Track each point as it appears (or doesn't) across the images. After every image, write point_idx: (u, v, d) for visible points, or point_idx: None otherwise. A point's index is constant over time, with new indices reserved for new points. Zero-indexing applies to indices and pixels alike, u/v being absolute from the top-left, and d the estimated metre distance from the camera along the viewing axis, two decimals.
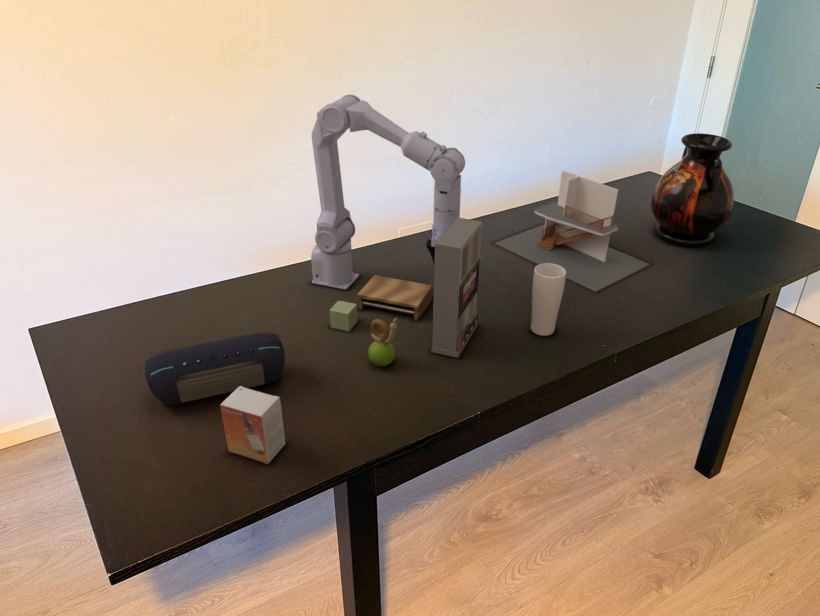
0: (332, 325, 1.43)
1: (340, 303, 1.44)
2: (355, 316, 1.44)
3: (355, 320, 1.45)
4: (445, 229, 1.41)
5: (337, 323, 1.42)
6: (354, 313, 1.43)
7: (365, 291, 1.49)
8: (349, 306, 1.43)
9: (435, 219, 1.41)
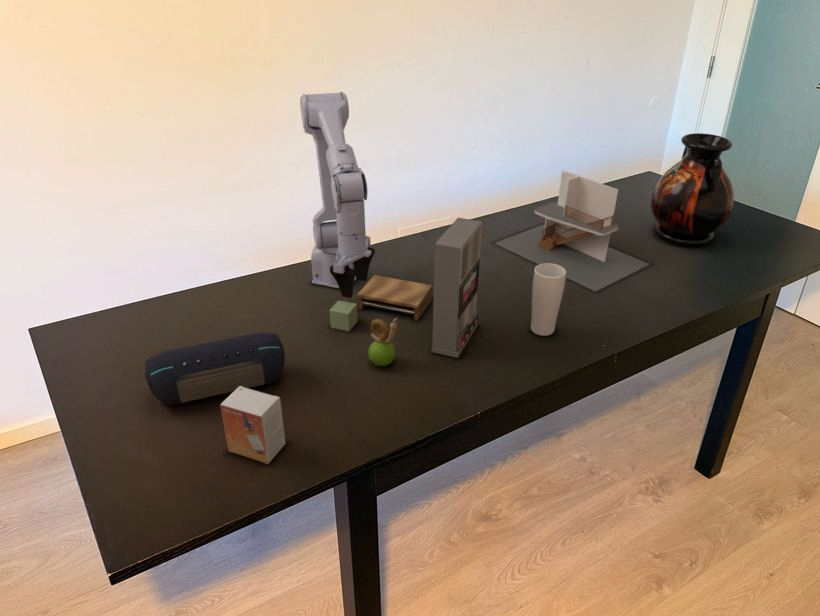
0: (332, 325, 1.43)
1: (340, 303, 1.44)
2: (355, 316, 1.44)
3: (355, 320, 1.45)
4: (350, 253, 1.34)
5: (337, 323, 1.42)
6: (354, 313, 1.43)
7: (365, 291, 1.49)
8: (349, 306, 1.43)
9: (339, 243, 1.34)
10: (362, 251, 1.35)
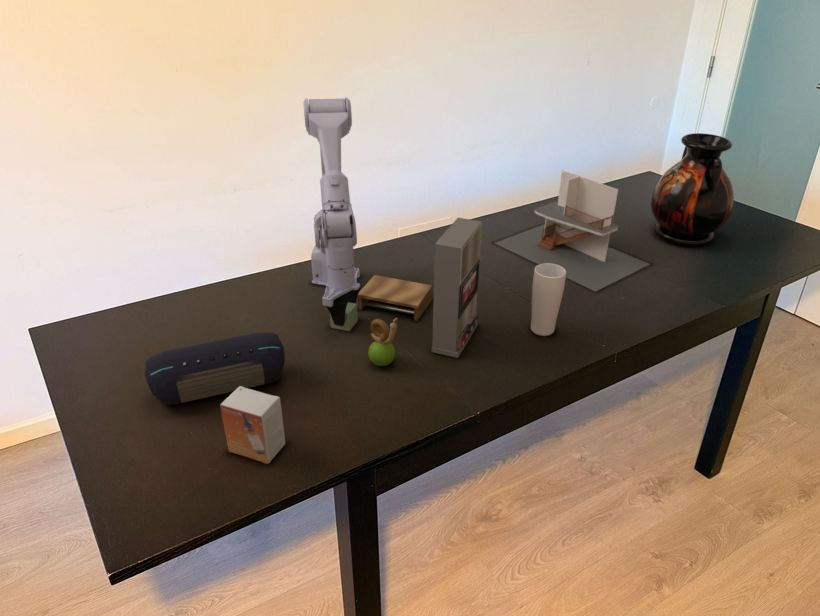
0: (332, 324, 1.43)
1: None
2: (355, 316, 1.44)
3: (355, 320, 1.45)
4: (339, 287, 1.37)
5: None
6: (354, 313, 1.43)
7: (365, 291, 1.49)
8: (349, 306, 1.43)
9: (328, 276, 1.37)
10: (351, 284, 1.37)
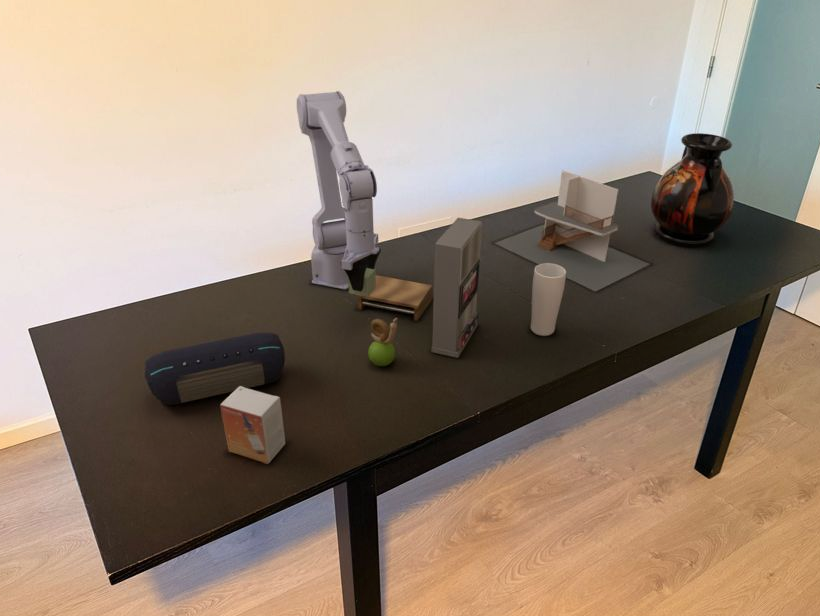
0: (350, 290, 1.42)
1: None
2: (374, 282, 1.43)
3: (373, 286, 1.44)
4: (358, 250, 1.35)
5: None
6: (372, 279, 1.42)
7: None
8: (368, 271, 1.42)
9: (347, 240, 1.35)
10: (370, 248, 1.36)
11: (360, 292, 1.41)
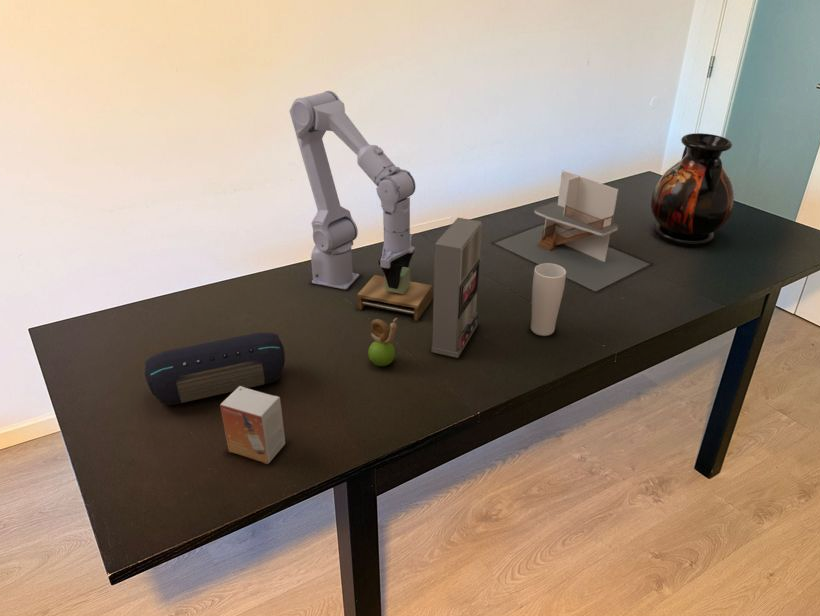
0: (386, 288, 1.48)
1: None
2: (408, 280, 1.49)
3: (408, 284, 1.50)
4: (395, 249, 1.42)
5: None
6: (407, 277, 1.48)
7: (365, 291, 1.49)
8: (403, 270, 1.48)
9: (385, 240, 1.42)
10: (406, 247, 1.42)
11: (396, 289, 1.48)
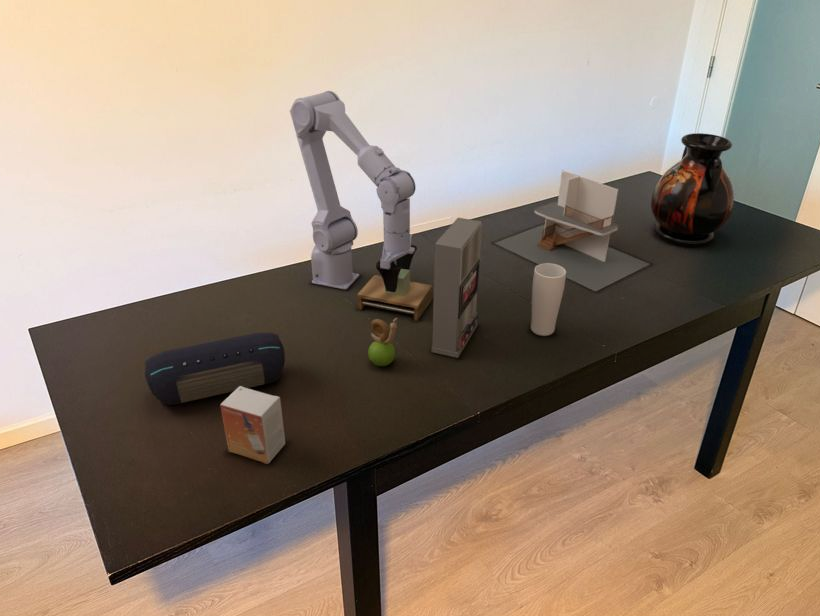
0: None
1: None
2: (408, 282, 1.50)
3: (408, 286, 1.50)
4: (395, 250, 1.42)
5: None
6: (407, 279, 1.49)
7: (365, 291, 1.49)
8: (403, 272, 1.48)
9: (385, 240, 1.42)
10: (406, 248, 1.43)
11: (396, 292, 1.48)
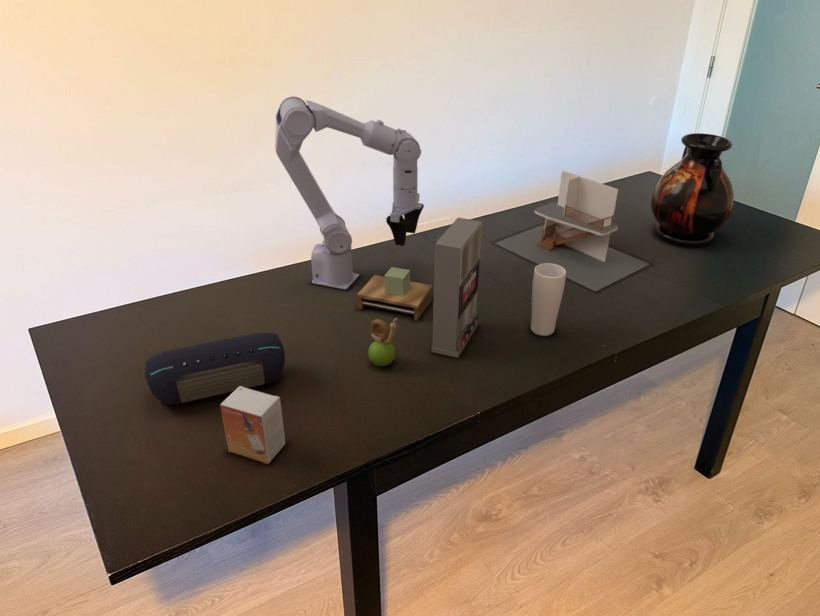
0: (386, 290, 1.48)
1: (394, 269, 1.49)
2: (408, 282, 1.50)
3: (408, 286, 1.50)
4: (404, 206, 1.53)
5: (392, 288, 1.48)
6: (407, 279, 1.49)
7: (365, 291, 1.49)
8: (403, 272, 1.48)
9: (394, 197, 1.53)
10: (414, 204, 1.54)
11: (396, 292, 1.48)
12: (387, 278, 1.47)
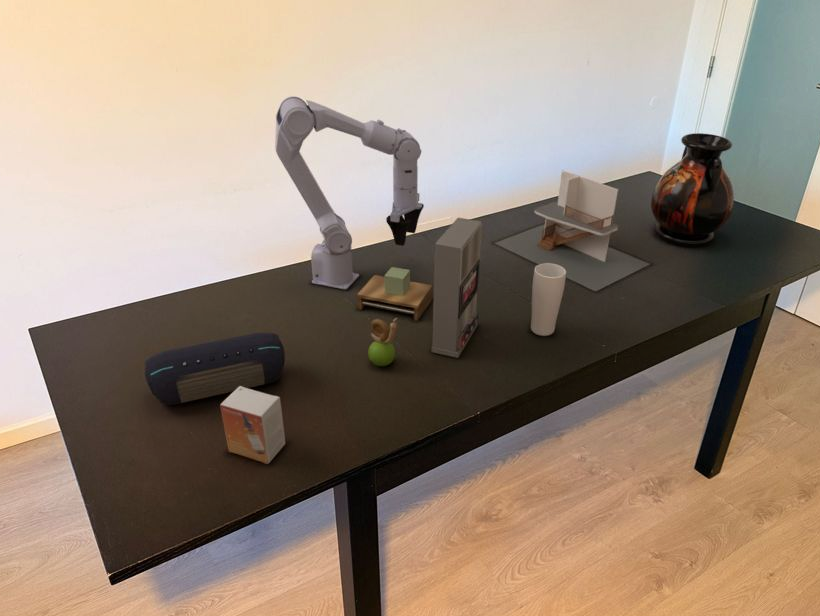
0: (386, 290, 1.48)
1: (394, 269, 1.49)
2: (408, 282, 1.50)
3: (408, 286, 1.50)
4: (404, 206, 1.54)
5: (392, 288, 1.48)
6: (407, 279, 1.49)
7: (365, 291, 1.49)
8: (403, 272, 1.48)
9: (394, 196, 1.54)
10: (414, 204, 1.54)
11: (396, 292, 1.48)
12: (387, 278, 1.47)
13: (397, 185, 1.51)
